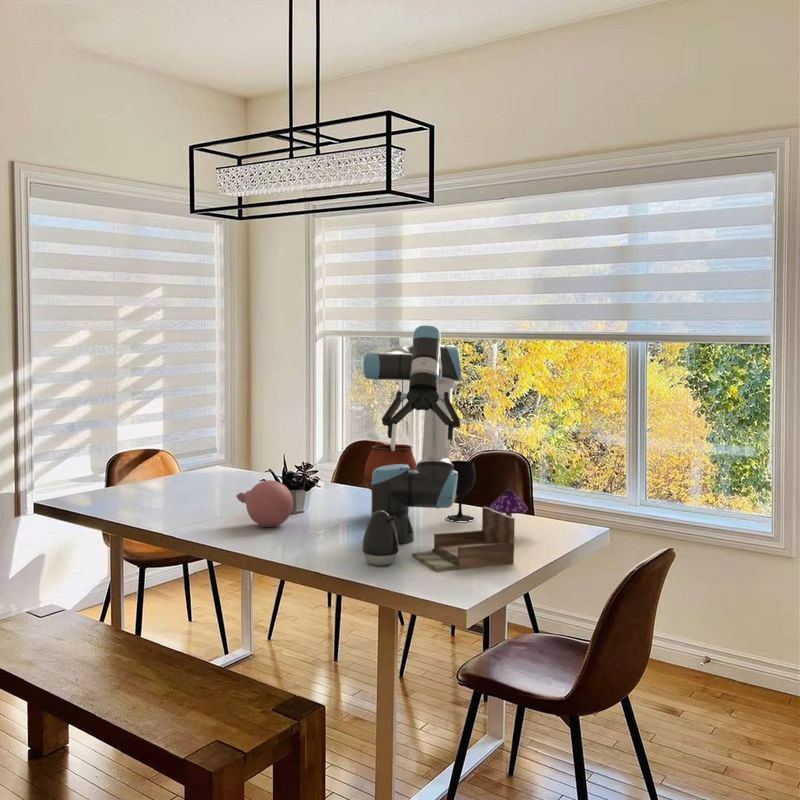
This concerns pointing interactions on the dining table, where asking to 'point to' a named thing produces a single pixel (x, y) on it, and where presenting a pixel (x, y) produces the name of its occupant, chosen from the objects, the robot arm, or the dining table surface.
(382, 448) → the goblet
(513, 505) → the decorative mushroom
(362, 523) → the dining table surface
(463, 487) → the wine glass
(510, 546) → the brown wooden tray
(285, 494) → the pink round body
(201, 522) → the dining table surface
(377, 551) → the dark grey figurine
